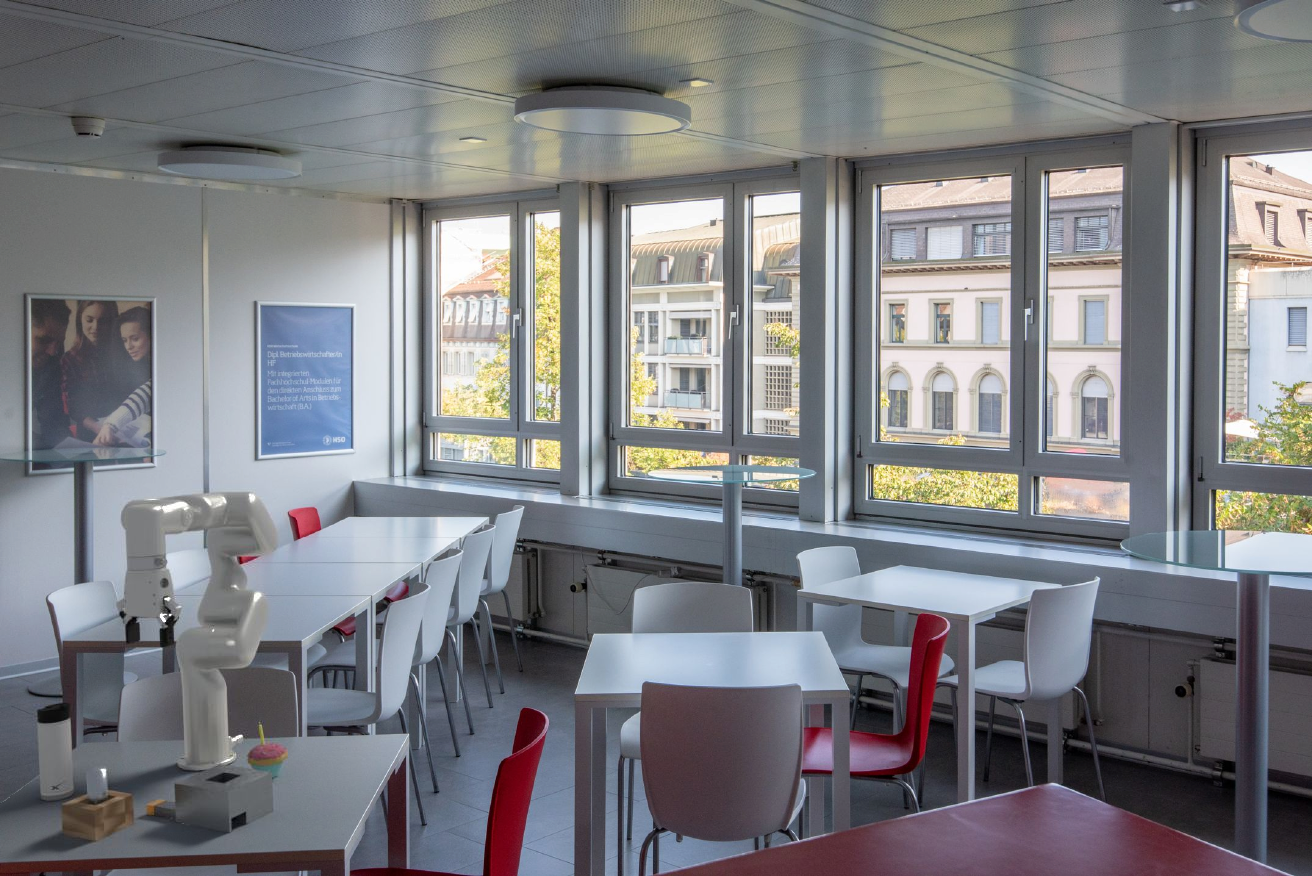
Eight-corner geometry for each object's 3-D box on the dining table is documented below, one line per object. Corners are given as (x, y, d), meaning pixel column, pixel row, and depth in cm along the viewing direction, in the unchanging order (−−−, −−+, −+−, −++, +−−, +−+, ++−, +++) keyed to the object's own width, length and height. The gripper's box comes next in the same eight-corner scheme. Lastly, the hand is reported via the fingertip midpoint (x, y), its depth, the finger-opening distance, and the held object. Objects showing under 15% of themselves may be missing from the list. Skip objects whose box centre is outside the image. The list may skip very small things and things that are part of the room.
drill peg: (100, 818, 223) (98, 765, 223) (113, 821, 222) (110, 767, 221) (84, 825, 220) (82, 770, 219) (97, 828, 219) (94, 773, 218)
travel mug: (61, 802, 236) (56, 708, 235) (33, 800, 237) (29, 707, 236) (81, 791, 242) (77, 700, 241) (55, 789, 243) (51, 699, 242)
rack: (101, 817, 227) (100, 788, 227) (134, 823, 223) (132, 794, 223) (62, 834, 219) (61, 804, 218) (95, 841, 215) (94, 810, 215)
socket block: (221, 801, 234) (219, 764, 234) (273, 810, 229) (271, 772, 229) (176, 822, 223) (174, 783, 223) (229, 832, 218) (228, 792, 218)
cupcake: (239, 779, 248) (237, 726, 247) (266, 767, 255) (264, 715, 255) (270, 784, 244) (268, 730, 244) (296, 771, 252) (294, 719, 252)
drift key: (159, 809, 231) (159, 799, 231) (218, 819, 224) (218, 809, 224) (146, 814, 228) (146, 804, 228) (206, 825, 221) (205, 815, 221)
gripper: (191, 562, 234) (194, 643, 235) (131, 558, 241) (134, 637, 242) (162, 568, 227) (166, 651, 228) (101, 564, 234) (105, 645, 235)
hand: (150, 644), depth 235 cm, fingers open, 9 cm apart
